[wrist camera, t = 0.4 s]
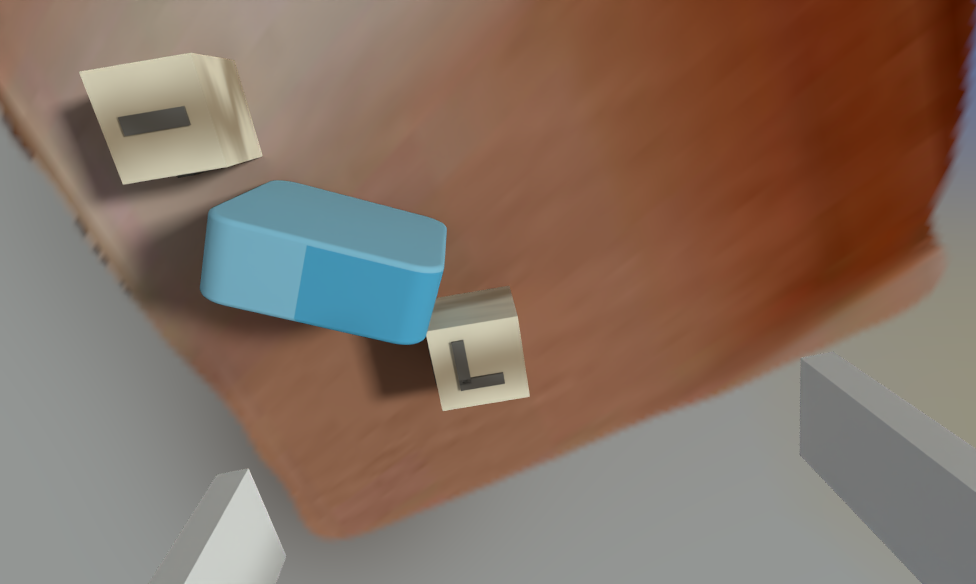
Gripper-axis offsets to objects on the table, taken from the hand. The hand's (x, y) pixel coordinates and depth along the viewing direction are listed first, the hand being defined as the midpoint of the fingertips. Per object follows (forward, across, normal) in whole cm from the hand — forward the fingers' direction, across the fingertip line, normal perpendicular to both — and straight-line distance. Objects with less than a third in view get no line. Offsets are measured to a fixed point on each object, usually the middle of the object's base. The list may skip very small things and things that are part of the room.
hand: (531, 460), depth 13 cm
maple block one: (+27, -16, +10) cm, 33 cm away
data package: (+27, -9, +1) cm, 29 cm away
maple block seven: (+27, -2, -8) cm, 29 cm away
